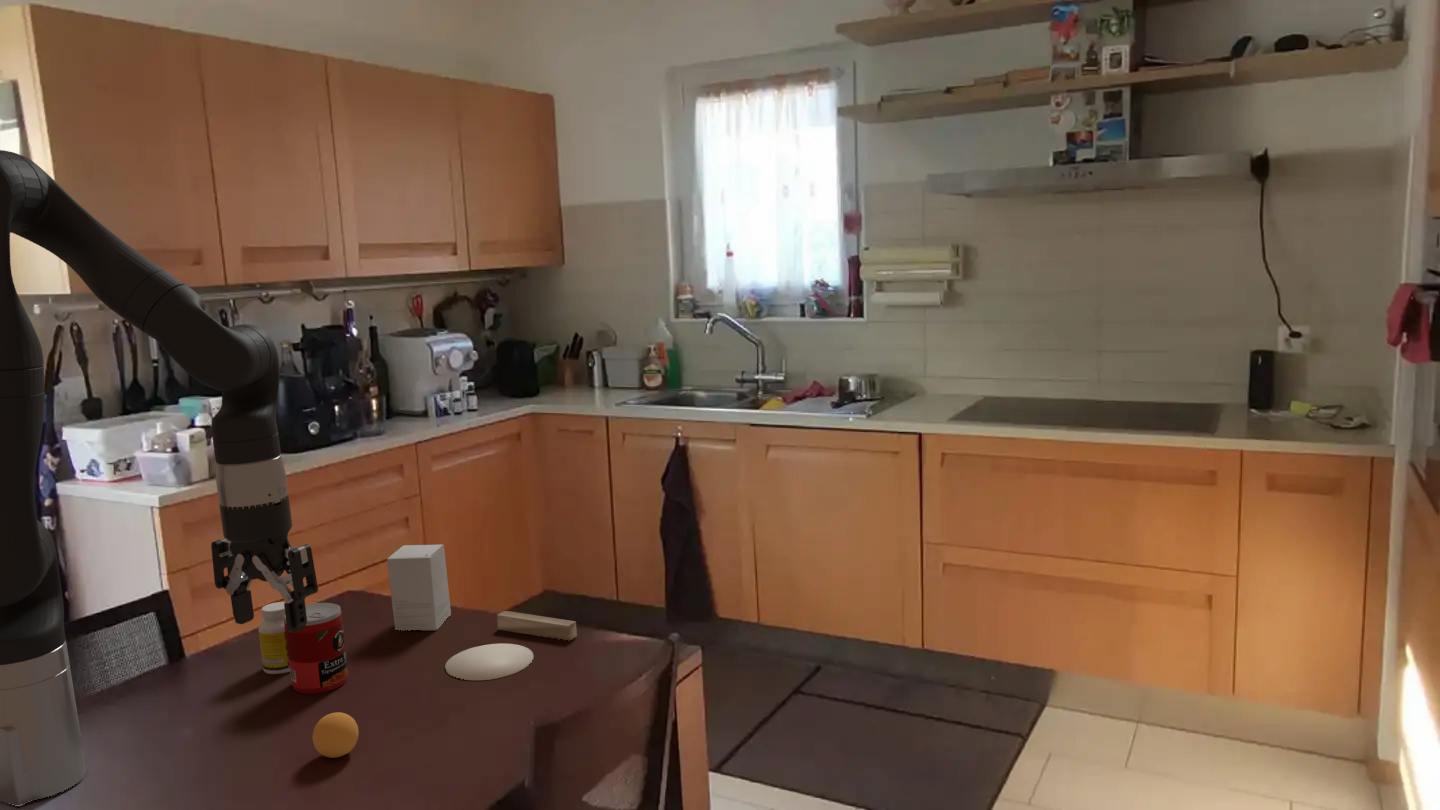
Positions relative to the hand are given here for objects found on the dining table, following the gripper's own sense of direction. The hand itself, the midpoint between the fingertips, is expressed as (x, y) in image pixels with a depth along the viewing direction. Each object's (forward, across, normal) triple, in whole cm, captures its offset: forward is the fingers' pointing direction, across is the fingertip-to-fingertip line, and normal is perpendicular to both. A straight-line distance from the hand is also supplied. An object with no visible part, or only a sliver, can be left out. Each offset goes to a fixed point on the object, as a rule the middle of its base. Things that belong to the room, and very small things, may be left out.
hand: (270, 625), depth 125 cm
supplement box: (+18, -16, +44) cm, 50 cm away
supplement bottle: (+18, -24, +22) cm, 37 cm away
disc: (+18, +5, +34) cm, 39 cm away
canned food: (+18, -14, +20) cm, 30 cm away
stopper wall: (+18, +6, +46) cm, 50 cm away
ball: (+15, +4, +4) cm, 16 cm away
